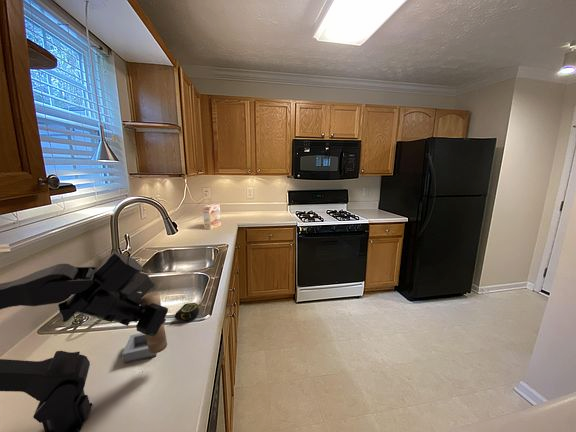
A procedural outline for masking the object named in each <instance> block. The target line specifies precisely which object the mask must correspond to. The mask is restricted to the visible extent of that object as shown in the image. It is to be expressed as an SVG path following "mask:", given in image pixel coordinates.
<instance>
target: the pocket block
mask: <svg viewBox="0 0 576 432" xmlns="http://www.w3.org/2000/svg"><path fill="white" fill-rule="evenodd" d="M157 354H158V353H155V354H152V353H149V350H148V344H147V339H146V334H143V333H141V332H139V333H135V334H130V336H129V339H128V340H127V343H126V344H125V346H124V349H123V351H122V354H121V357H122V361H123V362H122V363H123V364H128V363H133V362H136V361H140V360H145V359H149V358H154V357H156V356H157Z"/></svg>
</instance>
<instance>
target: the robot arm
mask: <svg viewBox="0 0 576 432" xmlns="http://www.w3.org/2000/svg"><path fill="white" fill-rule="evenodd" d="M143 270H144V268H143V266H142V265H141V264H140V263H139V262H138V261H136V259H135V258H133V257H132V256H130V255H129V256H127V255H126V254H123V253H119V252H117V251H113V252H112V253H111V254H110V255H109V256H108V258H106V260H104V262H103V263H102V264H100V265H99V266H74V265H72V264H70V263H58V264H54V265H52V266H48V267H45V268H42V269H40V270H36V271H35V272H32V273H30V274H28V275H26V276H23V277H21V278H17V279H14V280H11V281H7V282H2V283H0V310H3V309H7V308H12V307H21V306H23V307H40V306H47V305H53V304H58V305H57V306H58V311H59V312H60V315H61V319H62V320H61V321H62V322H64V323H66V322H68V321H69V320H70V319H71V318H72V317H73V316H74V315H75V314H76V313H77V314H81V315H86V316H89V317H93V318H98V319H101V320H104V321H106V322H110V323H113V322H114V323H119V324H121V325H124V326H127V327H128V326H129V324H130V323H133V322H134V323H136V325H135V326H136V332H139V333H143V334H146V335H149V336H155V335H156V334H157V332H158V330H159V328H160V326H161V325H162V324H164V325H165V323H166V321H167V319H166V316H167V314H168V313H169V309H168V308H169V307H166V306H162V305H161V306H160V305H157V304H154V303H151V304H149V305H145V306H144V307H143V306H141V305H142V303H143V301H144V300H143V299H141V297H143V296H144V295H145V294H147V293H149V291H150V290H151V289H153V288H154V287H155V285H156V284H155V283H156V282H154V280H153V279H152V278H151V277H150V276H149V274H146V273H142V271H143ZM142 311H143V313H142ZM80 353H81V352H80V351H76V352H75V351H74V352H71V351H70V352H69V351H65V350H56V351H55V353H54V354H53V357H50V358H47V359H44V360H40V361H39V360H37V361H36V360H20V359H5V358H4V359H3V358H0V392H14V393H16V392H20V393H25V394H27V395H28V396H30V397H31V398H33V399H35V400H36V401H37V402H38V404H37V406H36V409H35V411H34V413H33V416H32V417H33V419H34V420H35V421H37V422H38V423H39V424H41V423H42V427H43V430H44V432H80V431H81V430H82V428H83V425H84V423H85V421H87V419H88V417H89V414H90V412H91V410H92V407H93V402H90V399H89V395H88V394H85V386H86V382H87V378H88V375H89V369H90V360H89V358H88V356H87V355H85V354H80Z"/></svg>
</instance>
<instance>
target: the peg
mask: <svg viewBox="0 0 576 432" xmlns="http://www.w3.org/2000/svg"><path fill="white" fill-rule="evenodd" d="M141 299H143V300H144V301H143V303H142V305H140V306H143V307H144V306H145V305H149V304H151V303H154V304H157V305H160V306H162V302H161V297H160V293H159V292H156V291H152V292H147V293H146V294H145V295H144V296H143V297H141ZM142 313H143V311H142ZM146 339H147V344H148V350H149V353H152V354H155V353H157V354H158V353H162V351H165V349H166V348H167V347H168V342H167V341H168V340H167V334H166V330H165V323H164V324H162V325H161V326H160V328H159V330H158V332H157V334H156V335H155V336H149V335H146Z"/></svg>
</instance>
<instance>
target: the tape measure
mask: <svg viewBox="0 0 576 432" xmlns="http://www.w3.org/2000/svg"><path fill="white" fill-rule="evenodd" d="M199 312H200V307H199V305H198V303H196V302H189V303H184V304H183V306H182V307H180V308H179V309H178V311H176V312H175V314H174V319H176V320H180V321H181V320H183V321H188V320H189V321H190V320H192V319H195V318H197V316H198V315H199Z"/></svg>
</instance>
